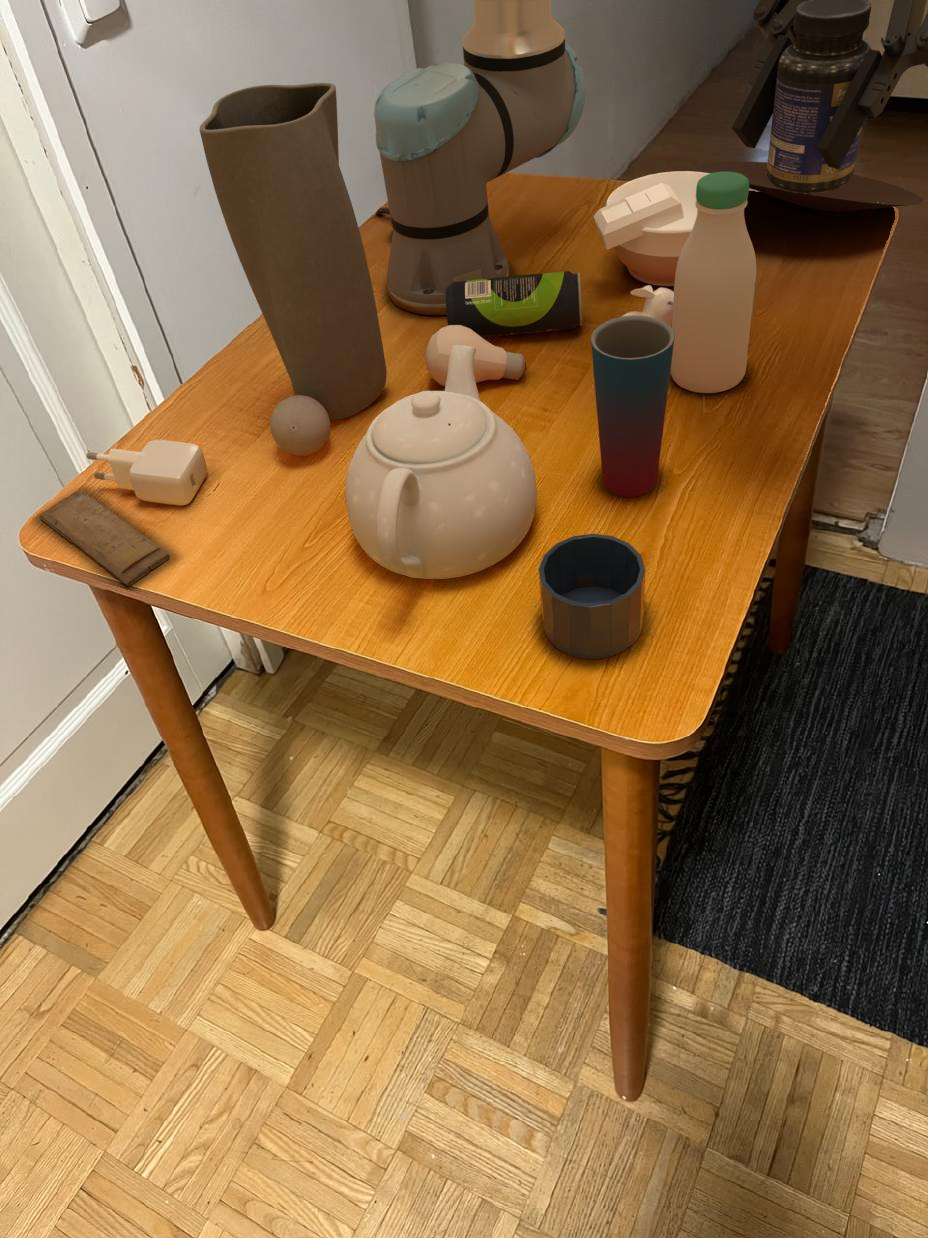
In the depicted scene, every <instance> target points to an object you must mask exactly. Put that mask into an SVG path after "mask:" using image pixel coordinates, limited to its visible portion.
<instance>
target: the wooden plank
mask: <svg viewBox="0 0 928 1238" xmlns="http://www.w3.org/2000/svg"><path fill="white" fill-rule="evenodd" d="M39 519H40V520H42V521H43V522H44V523H45V524H47V525H48V526H50V527H51V528H52V529H53V530H54V531H55V532H57V533H58V534H59V535H61V536H62V537H63V538H65V539H66V540H67V541H69V542H70V543H72V544H74V545H75V546H77V547H78V548H79V549H81V550H82V551H83V552H84V553H86V554H87V555H88V556H89V557H90V558H92V559H93V560H94V561H95V562H97V564H99V565H100V566H101V567H104V569H106V570H107V571H108V572H109V573H111V574H112V575H113V576H114V577H116V578H117V579H118V580H119V581H121V583H123V584H124V585H126V587H131V586H133V585H134V584H135V583H136V582H138V581H140V580H141V579H142V578H143V577H145V576H146V575H148V574H149V573H150V571H154V570H155V569H156V568H158V567H159V566H160V565H162V564H163V563H165V562H166V561H167V560H169V559H170V558H171V556H170V554H169V553H168V552H167V551H165V550H164V549H163V548H162V547H161V546H159V545H158V544H157V543H155V542H153V541H152V540H150V539H149V538H148V537H146V536H145V534H142V533H141V532H139V531H138V530H136V528H134V527H133V526H131V525H130V524H129V522H126V521H125V520H124V519H122V518H121V517H119V516H118V515H116V514H115V513H114V512H113V511H111V510H109V509H108V508H107V507H106V506H104V505H103V504H101V503H100V502H98V501H97V500H96V499H95V498H93V497H92V496H90V495H89V494H87V493H86V492H84V491H83V490H82V489H78V490H77V491H75V492H73V493H71V494H69V495H68V496H66V497H65V498H63V499H61V500H59V501H58V502H56V503H55V504H54V505H52V506H51V507H49V508H47V509H46V510H44V511H43V512H42V513H40V514H39Z"/></svg>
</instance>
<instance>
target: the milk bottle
mask: <svg viewBox="0 0 928 1238" xmlns="http://www.w3.org/2000/svg"><path fill="white" fill-rule="evenodd" d="M749 193H750V188H749V180H748V178H747V177H745V176H744V175H742V174H739V173H735V172H715V173H711V174H708V175H705V176H703V177H702V178H701V179H700V180H699V181H698V183H697V187H696V203H695V206H696V208H697V209H698V212H697V217H696V220H695V223H694V226H693V228H692V231H691V233H690V235H689V237H688V239H687V240H686V242H685V244H684V246H683V248H682V251H681V253H680V256H679V259H678V263H677V268H676V274H675V285H674V286H673V292H674V299H673V316H672V323H671V328H672V330H673V331H674V335H675V338H674V346H673V354H672V362H671V371H670V377H671V378H672V380H673V381H674V383H675V384H676V385H678V386H679V387H680V388H683V389H685V390H687V391H690V392H694V393H698V394H699V393H700V394H715V393H716V394H717V393H721V392H725V391H728V390H731V389H733V388H735V387H736V386H737V385H738V384H740V382H741V381H742V380H743V379H744V377H745V375H746V373H747V372H746V371H747V364H748V358H749V357H748V356H749V349H750V339H751V331H752V330H751V329H752V322H753V312H754V302H755V295H756V281H757V259H756V253H755V249H754V246H753V242H752V240H751V237H750V235H749V232H748V229H747V224H746V218H745V208H746V207H748V203H749V202H748V197H749Z"/></svg>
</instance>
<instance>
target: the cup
mask: <svg viewBox="0 0 928 1238" xmlns="http://www.w3.org/2000/svg"><path fill="white" fill-rule="evenodd" d="M622 316H623V315H622ZM622 316H619V317H614V318H611V319H608V320H607V321H605V322H602V323H601V324H600V325H598V326H597V327H596V328H595V329H594V330H593V332H592V333H591V336H590V344H591V345H590V347H591V357H592V368H593V369H592V370H593V380H594V382H593V383H594V392H595V404H596V416H597V426H598V439H599V441H598V442H599V453H600V463H601V465H600V466H601V475H602V484H603V486H604V488H605V489H606V490H607V491H608V492H609V493H611V494H613V495H616V496H618V497H623V498H635V497H636V498H637V497H641V496H644V495H646V494H648V493H649V492H651V491H652V490H653V489H654V488H656V486H657V484H658V483H657V482H658V475H659V466H660V459H661V451H662V443H663V434H664V427H665V426H664V425H665V420H666V419H665V418H666V410H667V401H668V396H669V395H668V393H669V387H670V378H671V373H670V371H671V362H672V354H673V346H674V338H675V335H674V331H673V330H672V326H671V327H670V326H669V325H668V324H667V323H665V322H663V321H661V320H659V319H656V318H652V317H648V316H623V317H622Z"/></svg>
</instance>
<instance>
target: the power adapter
mask: <svg viewBox="0 0 928 1238" xmlns="http://www.w3.org/2000/svg"><path fill="white" fill-rule="evenodd" d="M85 457H86V459H88V460H92V461H93V460H94V461H103V462H104V461H105V462H109V466H110V468H111V471H112V473H106V472H98V471H97V472H96V471H95V472H94V474H93V477H94V479H96V480H99V481H100V480H101V481H111V482H115V483H116V484H117V487H118V488H119V489H121V490H128V491H133V492H134V494H135V496H136V498H137V499H140V500H141V501H143V502H150V503H155V504H156V503H157V504H164V505H173V506H186V505H189V504H190V503H191V502H192V500H193V499H194V497H195V496H196V495H197V492H198V491H199V489H200V487H201V486H202V484H203V482H204V480H205V478H206V476H207V475H208V468H207V462H206V459H205V455H204V452H203V448H202V447H201V446H199V445H197V444H195V443H190V442H183V441H175V440H168V439H167V440H166V439H155V438H154V439H153V440H150V441H148V442H147V443H146V444H145V446H144V447H143V448H142V450H141V451H138V450H137V451H136V450H129V449H121V448H110V450H109V453H108V454H106V453H99V452H91V451H88V452H86V454H85Z"/></svg>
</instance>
